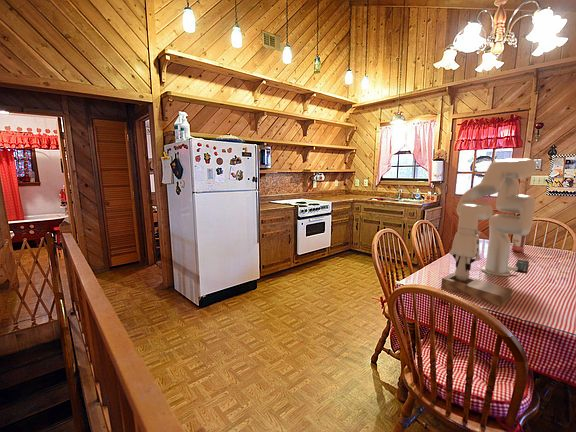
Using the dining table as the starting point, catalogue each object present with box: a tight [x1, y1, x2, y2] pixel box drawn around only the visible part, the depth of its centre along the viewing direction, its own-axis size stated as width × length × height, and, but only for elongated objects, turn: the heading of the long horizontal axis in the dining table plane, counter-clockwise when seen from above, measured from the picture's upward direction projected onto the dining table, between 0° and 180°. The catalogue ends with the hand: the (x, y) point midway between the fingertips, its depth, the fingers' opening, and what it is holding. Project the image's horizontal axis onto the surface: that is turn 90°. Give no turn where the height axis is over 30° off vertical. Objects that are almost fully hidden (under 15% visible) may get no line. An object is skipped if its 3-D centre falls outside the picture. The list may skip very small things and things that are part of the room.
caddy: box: [440, 272, 514, 308], centre depth 130 cm, size 24×12×4 cm, turn 37°
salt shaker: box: [454, 254, 471, 280], centre depth 133 cm, size 6×6×13 cm
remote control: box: [514, 259, 530, 274], centre depth 166 cm, size 5×24×1 cm, turn 138°
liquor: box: [511, 234, 527, 254], centre depth 192 cm, size 7×7×28 cm
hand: (462, 269), depth 134 cm, fingers closed on salt shaker, 3 cm apart
